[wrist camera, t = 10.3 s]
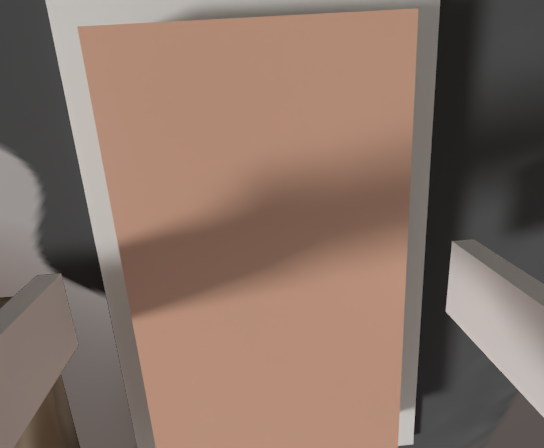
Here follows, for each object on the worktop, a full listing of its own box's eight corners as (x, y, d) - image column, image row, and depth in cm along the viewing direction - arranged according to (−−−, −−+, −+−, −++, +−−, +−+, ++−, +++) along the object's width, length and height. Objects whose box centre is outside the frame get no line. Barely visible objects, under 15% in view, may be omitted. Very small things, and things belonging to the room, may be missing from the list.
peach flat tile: (110, 40, 14) (77, 26, 12) (385, 25, 15) (418, 8, 12) (176, 437, 20) (164, 494, 17) (375, 418, 20) (396, 470, 17)
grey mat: (47, -19, 14) (40, -23, 14) (436, -37, 15) (443, -42, 14) (144, 462, 21) (142, 471, 20) (409, 436, 21) (413, 444, 21)
